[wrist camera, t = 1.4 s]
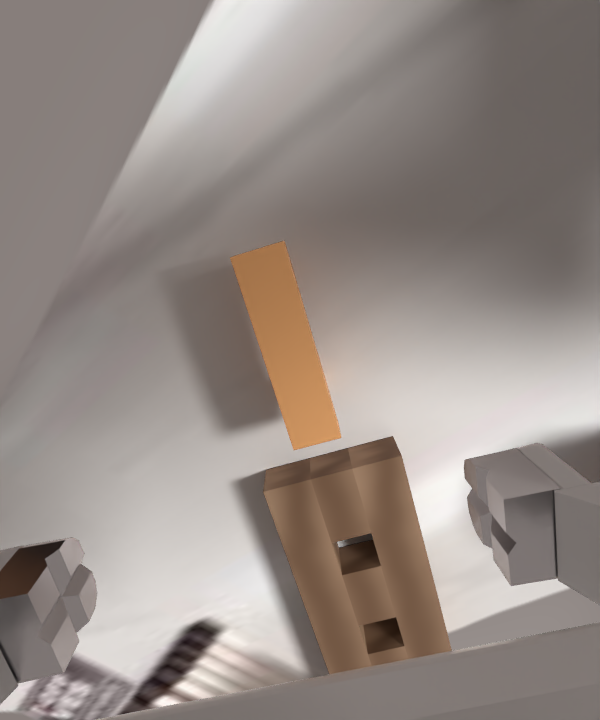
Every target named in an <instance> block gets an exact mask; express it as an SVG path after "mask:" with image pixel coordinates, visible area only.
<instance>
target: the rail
mask: <svg viewBox="0 0 600 720" xmlns="http://www.w3.org/2000/svg"><path fill="white" fill-rule="evenodd" d="M263 493H264V496H265V498H266V501H267V504H268V507H269V509H270V512H271V515H272V518H273V520H274V523H275V526H276V529H277V531H278V534H279V537H280V540H281V542H282V545H283V548H284V551H285V553H286V556H287V559H288V562H289V564H290V567H291V570H292V573H293V575H294V578H295V581H296V584H297V586H298V589H299V592H300V595H301V597H302V600H303V603H304V606H305V608H306V611H307V614H308V617H309V619H310V622H311V625H312V628H313V630H314V633H315V636H316V639H317V641H318V644H319V647H320V650H321V652H322V655H323V658H324V661H325V663H326V666H327V669H328V672H329V674H334V673H339V672H344V671H350V670H355V669H360V668H365V667H370V666H375V665H381V664H386V663H391V662H396V661H401V660H407V659H412V658H417V657H422V656H427V655H433V654H438V653H443V652H448V651H452V650H451V646H450V642H449V638H448V634H447V630H446V627H445V623H444V619H443V615H442V611H441V607H440V603H439V599H438V595H437V592H436V588H435V584H434V580H433V576H432V572H431V568H430V564H429V560H428V557H427V553H426V549H425V545H424V541H423V537H422V533H421V529H420V525H419V522H418V518H417V514H416V510H415V506H414V502H413V498H412V494H411V490H410V487H409V483H408V479H407V475H406V471H405V467H404V463H403V459H402V456H401V453H400V451H399V449H398V447H397V444H396V442H395V440H394V438H393V436H392V437H388V438H385V439H381V440H377V441H373V442H370V443H366V444H362V445H358V446H354V447H351V448H347V449H343V450H339V451H336V452H332V453H328V454H324V455H321V456H317V457H313V458H309V459H305V460H302V461H298V462H294V463H290V464H287V465H283V466H279V467H275V468H271V469H268V470H266V475H265V482H264V489H263ZM370 533H371V534H372V537H373V540H369V541H365V542H361V543H357V544H353V545H349V546H345V547H341V548H339V547H338V544H337V542H338V541H342V540H346V539H350V538H354V537H358V536H362V535H366V534H370Z"/></svg>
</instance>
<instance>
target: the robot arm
mask: <svg viewBox="0 0 600 720" xmlns="http://www.w3.org/2000/svg"><path fill="white" fill-rule="evenodd" d="M464 473H465V479H466V480H467V482H468V483H469V484H470V486H471V487H472V490H471V491H470V493H469V495H468V496H467V501H468V508H469V513H470V517H471V520H472V523H473V526H474V528H475V531H476V533H477V535H478V536H479V538H480V540H481V541H482V543H483V544H484V545H486V546H488V547H490V548H492V549H493V559H494V561H495V563H496V564H497V566H498V567H499V569H500V570H501V572H502V573H503V575H504V576H505V578H506V579H507V581H508V582H509V584H510V585H511V586H514V585H520V584H526V583H532V582H538V581H544V580H550V579H556V578H558V581H560V582H562V583H563V584H565V585H567V586H568V587H570V588H572V589H573V590H575V591H577V592H578V593H580V594H582V595H583V596H585V597H587V598H589V599H590V600H592V601H593V602H595V603H597V604H598V605H600V482H594V483H591V482H589V481H588V480H587V479H586V478H584V477H583V476H582V475H581V474H579V473H578V472H577V471H576V470H574V469H573V468H572V467H570V466H569V465H568V464H567V463H565V462H564V461H563V460H562V459H560V458H559V457H558V456H557V455H555V454H554V453H553V452H552V451H550V450H549V449H548V448H547V447H545V446H544V445H543V444H539V443H535V444H531V445H526V446H522V447H518V448H514V449H510V450H505V451H501V452H497V453H492V454H488V455H483V456H479V457H474V458H470V459H466V460H465V462H464ZM84 554H85V553H84V551H83V549H82V546H81V544H80V542H79V540H77V539H75V538H73V537H70V538H64V539H59V540H53V541H47V542H42V543H36V544H30V545H26V546H19V547H14V548H9V549H5V550H2V551H0V704H1V703H2V702H3V701H4V700H5V699H6V698H7V697H8V696H9V695H10V694H11V693H12V692H13V691H14V690H15V689H16V688H17V687H18V683H22V682H27V681H31V680H35V679H40V678H44V677H49V676H53V675H57V674H62V673H64V671H65V669H66V667H67V665H68V663H69V661H70V659H71V657H72V655H73V653H74V651H75V649H76V647H77V645H78V643H79V638H78V635H77V632H78V631H79V630H80V629H81V628H82V627H84V626H85V625H86V624H87V623H88V622H89V621H90V619H91V616H92V614H93V612H94V610H95V606H96V599H97V588H96V581H95V579H94V576H93V573H92V571H90V570H89V569H88V568H86V567H85V566H83V565H82V564H81V563H82V560H83V557H84ZM96 720H600V622H598V623H593V624H588V625H583V626H578V627H573V628H568V629H563V630H557V631H552V632H547V633H542V634H536V635H531V636H526V637H521V638H516V639H511V640H505V641H500V642H495V643H490V644H485V645H479V646H474V647H469V648H464V649H459V650H453V651H448V652H443V653H438V654H433V655H427V656H422V657H417V658H412V659H407V660H401V661H396V662H391V663H386V664H381V665H375V666H370V667H365V668H360V669H355V670H350V671H344V672H339V673H334V674H329V675H324V676H318V677H313V678H308V679H303V680H298V681H293V682H288V683H282V684H277V685H272V686H267V687H262V688H257V689H252V690H247V691H241V692H236V693H231V694H226V695H221V696H216V697H211V698H205V699H200V700H195V701H190V702H185V703H180V704H174V705H169V706H164V707H159V708H154V709H148V710H143V711H138V712H133V713H128V714H122V715H117V716H112V717H107V718H102V719H96Z"/></svg>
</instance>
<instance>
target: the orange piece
mask: <svg viewBox="0 0 600 720" xmlns="http://www.w3.org/2000/svg"><path fill="white" fill-rule="evenodd" d="M230 259H231V262H232V265H233V268H234V271H235V274H236V277H237V280H238V283H239V286H240V289H241V292H242V295H243V298H244V301H245V304H246V307H247V310H248V313H249V316H250V319H251V323H252V326H253V329H254V332H255V335H256V338H257V341H258V344H259V347H260V350H261V353H262V356H263V359H264V362H265V365H266V368H267V371H268V374H269V377H270V380H271V383H272V386H273V389H274V392H275V395H276V398H277V401H278V404H279V407H280V410H281V413H282V416H283V419H284V422H285V425H286V428H287V431H288V434H289V437H290V440H291V443H292V446H293V449H294V450H297V449H301V448H305V447H308V446H312V445H316V444H320V443H323V442H327V441H331V440H335V439H338V438H341V434H340V429H339V424H338V420H337V417H336V414H335V410H334V407H333V403H332V400H331V397H330V393H329V390H328V386H327V383H326V380H325V376H324V373H323V369H322V366H321V363H320V359H319V356H318V353H317V349H316V346H315V342H314V339H313V336H312V332H311V329H310V325H309V322H308V319H307V315H306V312H305V308H304V305H303V302H302V298H301V295H300V291H299V288H298V285H297V281H296V278H295V275H294V271H293V268H292V264H291V261H290V258H289V254H288V251H287V247H286V244H285V241H281V242H278V243H275V244H271V245H268V246H265V247H261V248H258V249H255V250H252V251H248V252H245V253H242V254H239V255H235V256H233V257H231V258H230Z"/></svg>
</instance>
